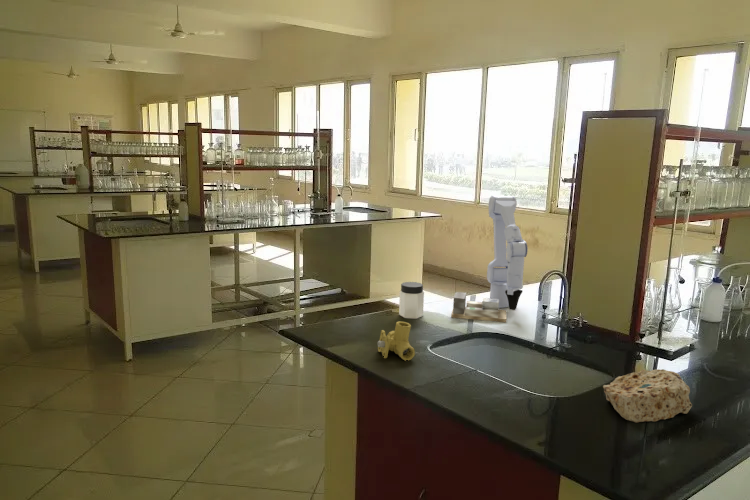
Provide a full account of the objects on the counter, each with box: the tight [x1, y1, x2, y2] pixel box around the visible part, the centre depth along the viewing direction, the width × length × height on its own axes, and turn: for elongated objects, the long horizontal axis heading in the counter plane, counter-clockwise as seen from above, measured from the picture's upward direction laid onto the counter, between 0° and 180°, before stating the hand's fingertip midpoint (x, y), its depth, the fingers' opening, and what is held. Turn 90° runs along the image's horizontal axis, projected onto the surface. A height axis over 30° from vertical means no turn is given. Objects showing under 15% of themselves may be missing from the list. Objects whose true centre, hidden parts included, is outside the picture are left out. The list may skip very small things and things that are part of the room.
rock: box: [602, 368, 693, 424], centre depth 138 cm, size 21×14×10 cm
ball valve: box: [377, 320, 416, 362], centre depth 169 cm, size 13×10×10 cm
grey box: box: [481, 297, 500, 310], centre depth 209 cm, size 6×8×5 cm
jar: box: [398, 281, 425, 320], centre depth 209 cm, size 9×8×12 cm
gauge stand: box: [450, 291, 507, 323], centre depth 211 cm, size 20×12×7 cm, turn 77°
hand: (512, 309), depth 209 cm, fingers closed
